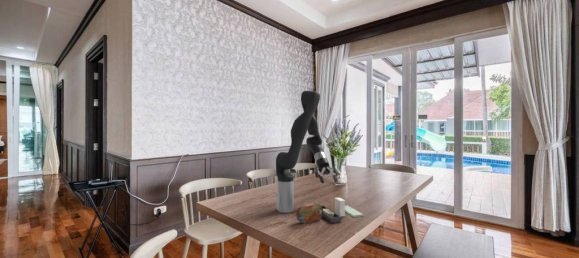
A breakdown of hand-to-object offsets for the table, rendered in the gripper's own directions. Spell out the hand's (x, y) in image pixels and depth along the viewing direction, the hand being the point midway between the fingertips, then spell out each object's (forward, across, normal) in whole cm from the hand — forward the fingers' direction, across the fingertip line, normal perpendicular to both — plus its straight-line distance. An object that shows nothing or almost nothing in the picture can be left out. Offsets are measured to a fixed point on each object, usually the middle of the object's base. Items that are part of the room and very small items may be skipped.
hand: (329, 182), depth 146 cm
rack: (+19, -8, +2) cm, 21 cm away
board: (+18, +8, +4) cm, 20 cm away
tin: (+22, -20, 0) cm, 30 cm away
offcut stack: (+19, -8, +2) cm, 21 cm away
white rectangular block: (+19, 0, +2) cm, 19 cm away
